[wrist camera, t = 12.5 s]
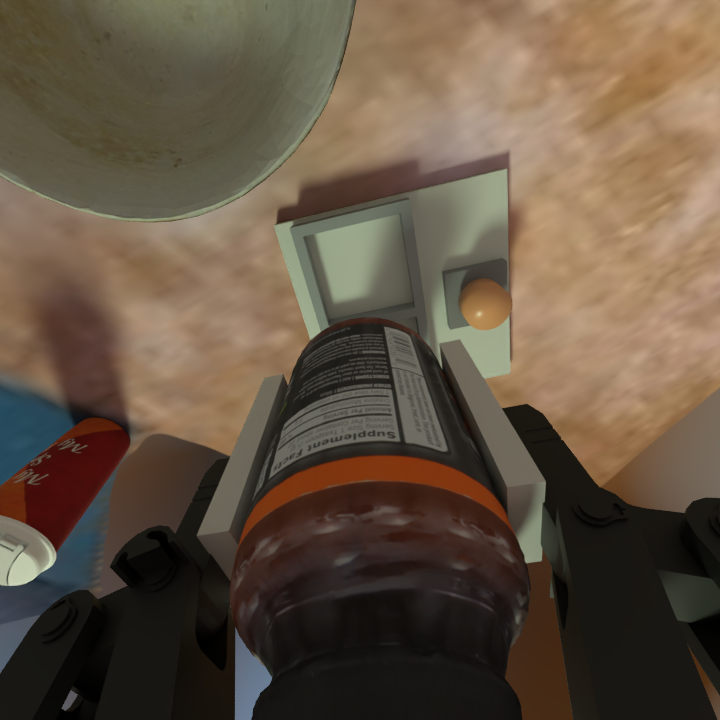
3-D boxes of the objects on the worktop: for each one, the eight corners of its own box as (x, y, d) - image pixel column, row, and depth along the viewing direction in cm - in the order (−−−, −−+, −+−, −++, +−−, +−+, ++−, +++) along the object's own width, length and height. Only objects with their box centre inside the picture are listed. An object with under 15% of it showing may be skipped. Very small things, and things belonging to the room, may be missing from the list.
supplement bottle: (440, 427, 16) (587, 875, 6) (309, 441, 16) (235, 890, 6) (438, 300, 13) (723, 759, 3) (278, 320, 13) (38, 797, 3)
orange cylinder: (456, 283, 28) (463, 291, 26) (501, 273, 28) (511, 281, 26) (459, 324, 30) (466, 334, 28) (503, 315, 29) (512, 325, 28)
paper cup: (91, 396, 36) (-45, 514, 24) (154, 440, 39) (62, 565, 27) (52, 433, 38) (-90, 558, 26) (114, 472, 41) (13, 600, 29)
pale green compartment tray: (276, 223, 28) (269, 228, 26) (502, 168, 27) (515, 168, 24) (332, 401, 37) (331, 416, 35) (506, 368, 35) (516, 381, 33)
